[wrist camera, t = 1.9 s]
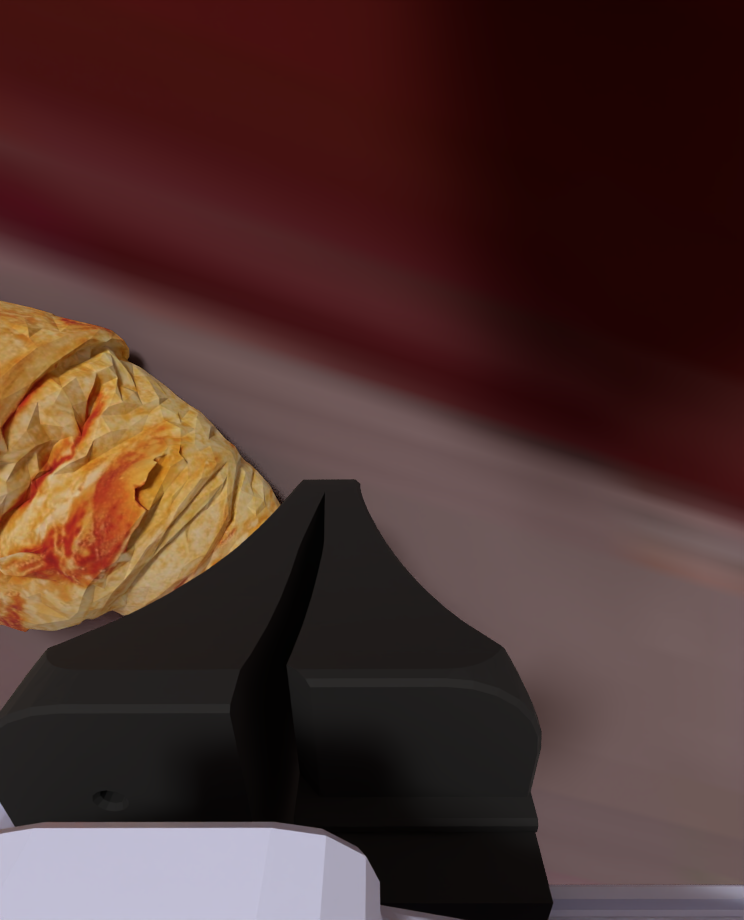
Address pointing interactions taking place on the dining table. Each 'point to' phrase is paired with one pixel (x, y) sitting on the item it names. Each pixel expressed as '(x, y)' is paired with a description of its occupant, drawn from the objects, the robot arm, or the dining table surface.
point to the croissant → (105, 478)
